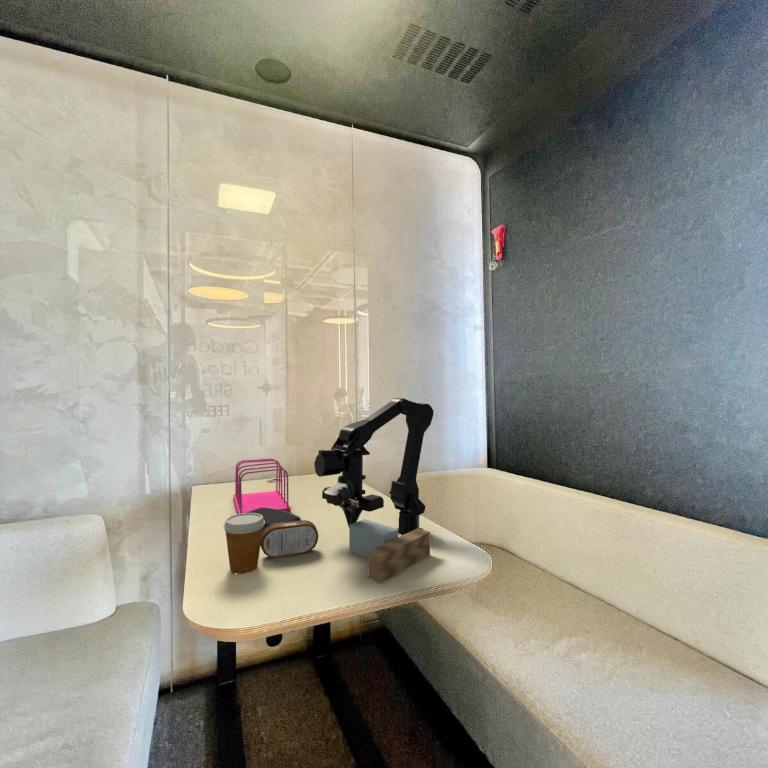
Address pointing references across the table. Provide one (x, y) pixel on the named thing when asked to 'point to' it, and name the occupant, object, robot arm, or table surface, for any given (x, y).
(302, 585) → the table surface
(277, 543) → the tin
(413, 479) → the robot arm
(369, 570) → the batten
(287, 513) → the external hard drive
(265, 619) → the table surface
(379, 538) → the block
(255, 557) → the disposable coffee cup
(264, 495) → the file sorter
